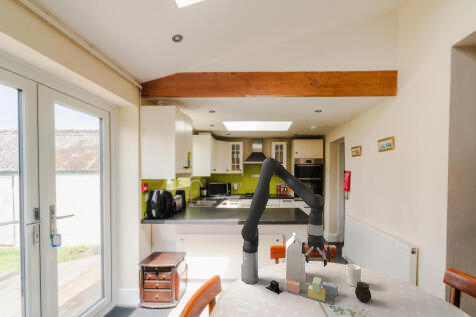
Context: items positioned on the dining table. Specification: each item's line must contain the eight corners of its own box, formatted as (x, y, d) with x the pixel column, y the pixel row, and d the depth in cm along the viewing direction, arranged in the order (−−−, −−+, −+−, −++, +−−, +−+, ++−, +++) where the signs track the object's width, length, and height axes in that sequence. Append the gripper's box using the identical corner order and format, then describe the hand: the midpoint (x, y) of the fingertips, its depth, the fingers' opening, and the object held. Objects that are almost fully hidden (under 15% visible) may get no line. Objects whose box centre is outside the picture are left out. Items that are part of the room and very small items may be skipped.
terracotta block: (285, 289, 120) (285, 282, 120) (287, 286, 123) (287, 279, 123) (298, 293, 116) (298, 285, 116) (300, 290, 119) (300, 282, 120)
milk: (285, 271, 143) (284, 230, 144) (303, 272, 141) (302, 231, 142) (285, 280, 131) (285, 236, 132) (305, 282, 129) (304, 237, 130)
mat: (288, 292, 118) (288, 291, 118) (295, 281, 129) (295, 281, 129) (333, 305, 107) (333, 304, 107) (335, 292, 118) (335, 291, 118)
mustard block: (308, 296, 114) (308, 288, 114) (309, 292, 117) (309, 284, 117) (324, 300, 110) (324, 292, 110) (325, 296, 113) (325, 288, 113)
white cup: (346, 286, 124) (346, 268, 124) (345, 279, 131) (345, 262, 132) (362, 289, 121) (361, 270, 122) (360, 282, 128) (359, 264, 129)
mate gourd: (362, 294, 116) (361, 275, 116) (375, 303, 108) (375, 282, 109) (351, 297, 113) (351, 277, 113) (364, 306, 106) (364, 285, 106)
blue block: (322, 292, 117) (322, 284, 118) (323, 289, 120) (323, 281, 121) (337, 295, 114) (336, 287, 114) (337, 292, 117) (337, 284, 117)
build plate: (287, 292, 119) (287, 284, 119) (279, 298, 114) (279, 289, 114) (270, 283, 128) (270, 275, 128) (261, 288, 123) (261, 279, 124)
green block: (314, 284, 118) (314, 276, 118) (321, 285, 116) (321, 278, 116) (312, 290, 112) (312, 282, 112) (319, 292, 110) (319, 284, 110)
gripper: (331, 233, 115) (331, 264, 114) (303, 229, 122) (303, 258, 121) (329, 236, 108) (329, 270, 107) (300, 232, 115) (300, 263, 114)
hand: (316, 264), depth 114 cm, fingers open, 8 cm apart
